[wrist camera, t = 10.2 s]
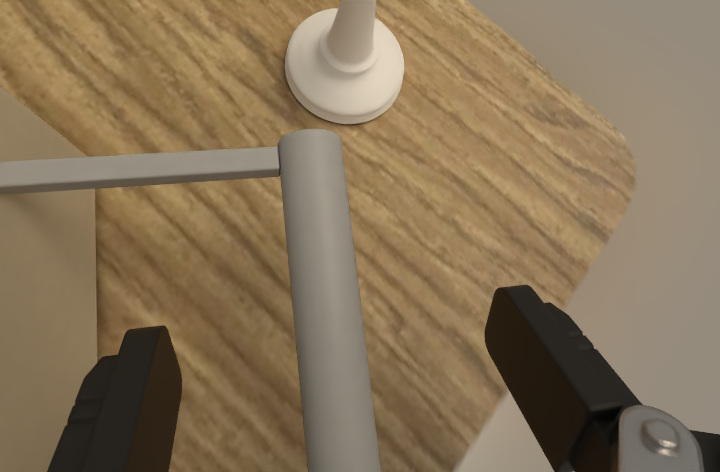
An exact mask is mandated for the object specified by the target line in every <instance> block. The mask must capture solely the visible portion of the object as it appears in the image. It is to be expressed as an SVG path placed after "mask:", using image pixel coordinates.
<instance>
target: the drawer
mask: <svg viewBox="0 0 720 472" xmlns="http://www.w3.org/2000/svg"><path fill="white" fill-rule="evenodd" d="M278 176H280V177H281V188H282V198H283V209H284V220H285V231H286V241H287V252H288V263H289V274H290V284H291V295H292V306H293V317H294V328H295V338H296V349H297V360H298V371H299V381H300V392H301V403H302V414H303V424H304V435H305V446H306V457H307V467H308V472H381V466H380V458H379V449H378V441H377V433H376V425H375V416H374V408H373V400H372V391H371V383H370V375H369V366H368V358H367V350H366V342H365V333H364V325H363V317H362V308H361V300H360V292H359V284H358V275H357V267H356V259H355V250H354V242H353V234H352V226H351V217H350V209H349V201H348V192H347V184H346V176H345V167H344V159H343V151H342V143H341V139H340V137H339V135H338V134H336V133H335V132H332V131H329V130H325V129H303V130H298V131H294V132H291V133H289V134H286V135H285V136H283V137H282V138H281V139H280V140H279V142H278V148H277V147H259V148H241V149H223V150H205V151H186V152H168V153H150V154H131V155H113V156H95V157H87V156H86V155H85V154H84V153H82V152H81V151H80V150H79V149H78V148H76V147H75V146H74V145H73V144H71V143H70V142H69V141H68V140H66V139H65V138H64V137H63V136H62V135H60V134H59V133H58V132H57V131H55V130H54V129H53V128H52V127H50V126H49V125H48V124H47V123H45V122H44V121H43V120H42V119H41V118H39V117H38V116H37V115H36V114H34V113H33V112H32V111H31V110H29V109H28V108H27V107H26V106H25V105H23V104H22V103H21V102H20V101H18V100H17V99H16V98H15V97H13V96H12V95H11V94H10V93H8V92H7V91H6V90H5V89H4V88H2V87H1V86H0V472H47V470H48V467H49V465H50V462H51V460H52V457H53V455H54V452H55V450H56V447H57V445H58V442H59V440H60V437H61V435H62V432H63V430H64V427H65V426H66V425H67V423H68V422H67V420H68V417H69V415H70V412H71V410H72V407H73V406H75V400H76V397H77V395H78V392H79V390H80V387H81V384H82V382H83V379H84V377H85V376H86V375H87V374H88V373H89V372H90V371H91V369H92V368H93V367H94V366H95V365H96V364H97V300H96V230H95V189H98V188H113V187H128V186H143V185H158V184H173V183H188V182H203V181H219V180H234V179H249V178H264V177H278Z"/></svg>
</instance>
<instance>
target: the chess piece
mask: <svg viewBox="0 0 720 472" xmlns="http://www.w3.org/2000/svg"><path fill="white" fill-rule="evenodd" d="M376 1H377V0H341V1H340V4H339V7H338V8H332V9H327V10H323V11H320V12H317V13H315V14H313V15H311V16H310V17H308V18H307V19H305V20H304V21H303V22H302V23H301V24H300V25H299V26H298V27H297V28H296V30H295V31H294V33H293V34H292V36H291V39H290V41H289V44H288V48H287V52H286V57H285V73H286V78H287V81H288V84H289V87H290V89H291V91H292V93H293V94H294V96H295V97H296V98H297V100H298V101H299V102H300V103H301V104H302V105H303V106H304V107H305V108H306V109H307V110H309V111H310V112H312V113H313V114H315V115H316V116H318V117H320V118H322V119H325V120H328V121H331V122H335V123H340V124H358V123H363V122H367V121H370V120H372V119H374V118H376V117H378V116H380V115H381V114H383V113H384V112H385V111H387V110H388V109H389V108H390V107H391V105H392V104H393V103H394V101H395V100H396V98H397V96H398V94H399V92H400V89H401V86H402V80H403V75H404V59H403V54H402V51H401V48H400V45H399V43H398V41H397V40H396V38H395V36H394V35H393V34H392V32H391V31H390V30H389V29H388V28H387V27H386V26H385V25H384V24H383V23H382V22H380V21H379V20H378V19H376V18H375V11H376Z"/></svg>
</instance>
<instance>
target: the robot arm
mask: <svg viewBox="0 0 720 472" xmlns="http://www.w3.org/2000/svg"><path fill="white" fill-rule="evenodd" d="M485 343H486V347H487V350H488V352H489V354H490V356H491V358H492V360H493V362H494V363H495V365H496V367H497V369H498V371H499V373H500V374H501V376H502V378H503V380H504V382H505V383H506V385H507V387H508V389H509V391H510V392H511V394H512V396H513V398H514V400H515V401H516V403H517V405H518V407H519V408H520V410H521V412H522V414H523V415H524V418H525V419H526V421H527V423H528V424H529V426H530V428H531V430H532V432H533V434H534V436H535V437H536V439H537V441H538V443H539V445H540V446H541V448H542V450H543V452H544V454H545V455H546V457H547V459H548V461H549V463H550V464H551V466H552V468H553V470H554V471H555V472H572V471H575V472H720V435H719V434H712V433H706V432H699V431H692V430H689V429H688V428H687V427H686V426H684V425H683V424H682V423H681V422H680V421H679V420H677V419H676V418H674V417H673V416H671V415H670V414H668V413H666V412H664V411H662V410H660V409H657V408H654V407H650V406H645V405H642V403H640V401H639V400H638V399H637V398H636V397H635V396H634V394H633V393H632V392H631V391H630V389H629V388H628V387H627V386H626V384H625V383H624V382H623V381H622V380H621V378H620V377H619V376H618V375H617V373H615V371H614V370H613V369H612V368H611V366H610V365H609V364H608V363H607V361H606V360H605V359H604V358H603V357H602V355H601V354H600V353H599V352H598V351H597V350H596V349H594V347H593V344H592V343H591V342H590V341H589V340H588V338H587V337H586V336H583V334H582V331H581V330H580V329H579V327H578V326H577V325H576V324H575V323H574V321H573V320H572V319H571V318H570V317H569V315H567V314H566V313H564V312H563V311H561V310H560V309H559V308H557V307H556V306H554V305H553V304H551V303H543V301H542V300H541V299H540V298H539V296H538V295H537V294H536V292H535V291H534V290H533V289H532V288H531V287H530V286H528V285H520V286H511V287H502V288H498V289H497V290H496V291H495V293H494V297H493V300H492V304H491V308H490V312H489V316H488V320H487V323H486V327H485ZM181 393H182V378H181V371H180V367H179V364H178V360H177V357H176V354H175V351H174V348H173V345H172V342H171V338H170V335H169V332H168V329H167V328H166V326H155V327H146V328H137V329H129V330H128V331H127V332H126V333H125V336H124V339H123V341H122V344H121V347H120V350H119V353H118V355H113V356H105V357H102V358H101V359H100V360H99V361H98V363H97V364H96V365H95V366H94V367H93V368H92V369H91V371H90V372H89V373H88V374H87V375H86V376H85V377H84V379H83V382H82V384H81V387H80V390H79V392H78V395H77V397H76V400H75V406H73V407H72V410H71V412H70V415H69V417H68V420H67V422H68V423H67V425H66V426H65V427H64V430H63V432H62V435H61V437H60V440H59V442H58V445H57V447H56V450H55V452H54V455H53V457H52V460H51V462H50V465H49V467H48V470H47V472H168V471H169V465H170V459H171V454H172V448H173V442H174V436H175V430H176V424H177V418H178V412H179V406H180V400H181Z"/></svg>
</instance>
